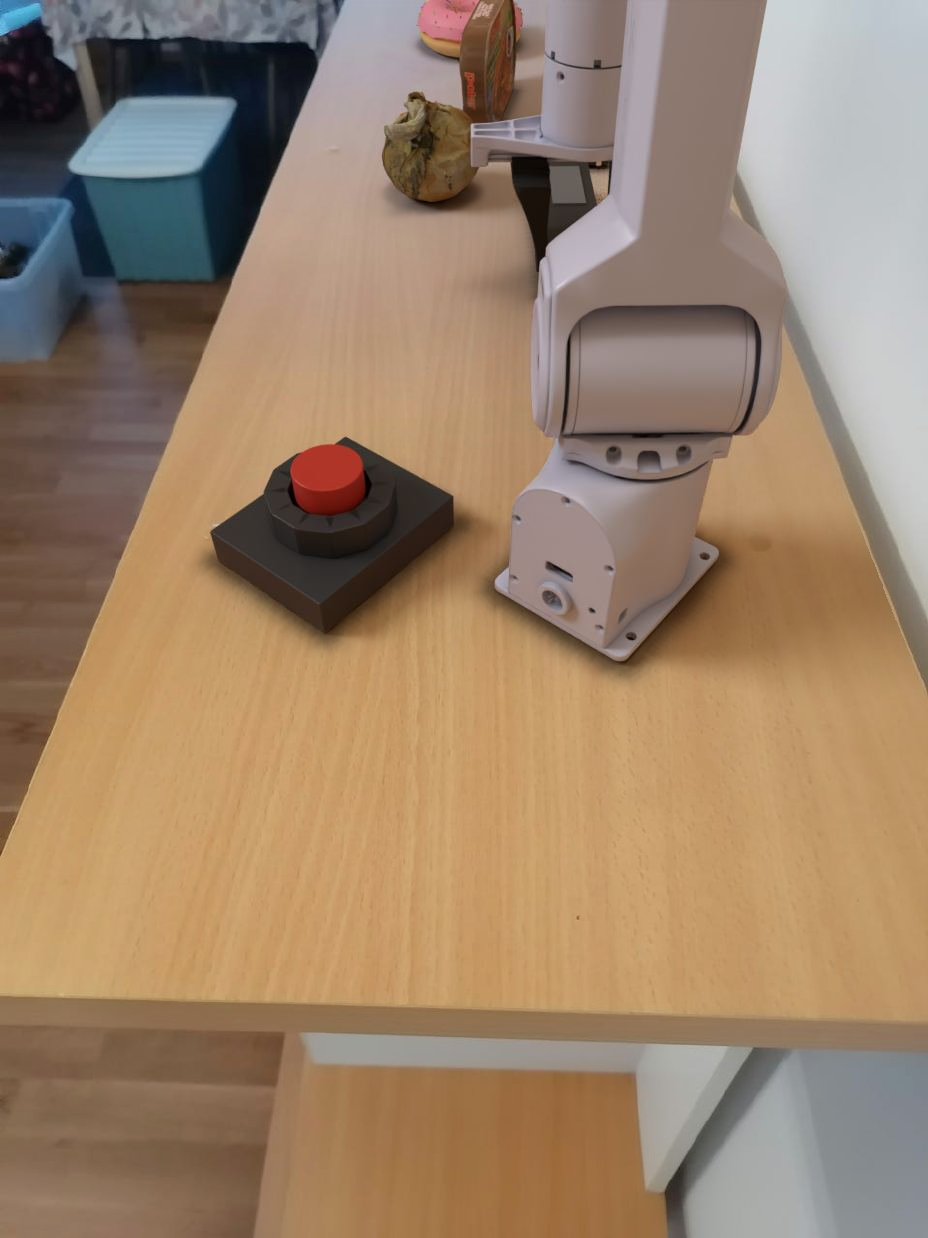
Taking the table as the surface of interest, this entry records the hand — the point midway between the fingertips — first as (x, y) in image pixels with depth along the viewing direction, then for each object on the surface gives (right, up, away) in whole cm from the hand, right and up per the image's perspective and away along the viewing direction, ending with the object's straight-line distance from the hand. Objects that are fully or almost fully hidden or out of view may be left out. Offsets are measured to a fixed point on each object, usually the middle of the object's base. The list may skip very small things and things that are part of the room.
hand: (573, 264), depth 67 cm
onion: (-10, +10, +11) cm, 18 cm away
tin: (-6, +22, +22) cm, 32 cm away
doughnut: (-7, +35, +33) cm, 49 cm away
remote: (0, +4, +5) cm, 6 cm away
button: (-15, -19, -18) cm, 30 cm away
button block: (-15, -21, -16) cm, 30 cm away
